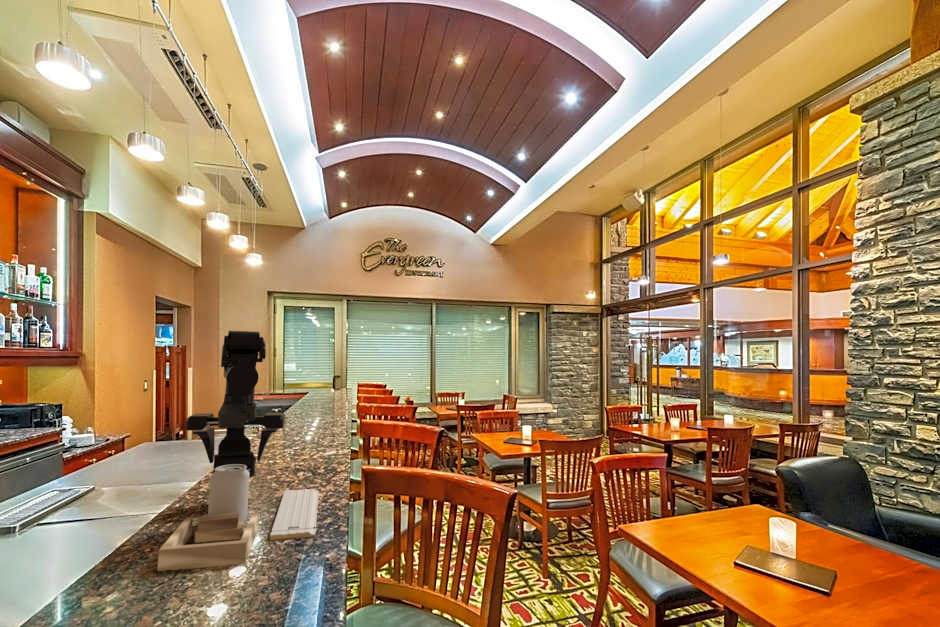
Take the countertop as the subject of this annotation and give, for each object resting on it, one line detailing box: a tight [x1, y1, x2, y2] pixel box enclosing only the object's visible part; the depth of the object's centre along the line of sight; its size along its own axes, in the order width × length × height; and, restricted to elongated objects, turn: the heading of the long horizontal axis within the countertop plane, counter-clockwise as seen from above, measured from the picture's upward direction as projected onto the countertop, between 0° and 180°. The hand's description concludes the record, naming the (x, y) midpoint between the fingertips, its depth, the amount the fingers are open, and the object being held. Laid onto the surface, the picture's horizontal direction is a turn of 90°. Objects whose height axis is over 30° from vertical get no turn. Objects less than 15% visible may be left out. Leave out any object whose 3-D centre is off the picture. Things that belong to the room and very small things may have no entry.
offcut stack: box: [194, 512, 245, 544], centre depth 91 cm, size 4×8×4 cm, turn 107°
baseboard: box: [269, 488, 322, 541], centre depth 106 cm, size 30×3×10 cm
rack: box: [156, 512, 260, 572], centre depth 86 cm, size 15×13×4 cm
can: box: [207, 464, 250, 523], centre depth 98 cm, size 8×8×12 cm
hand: (235, 461), depth 99 cm, fingers open, 9 cm apart
